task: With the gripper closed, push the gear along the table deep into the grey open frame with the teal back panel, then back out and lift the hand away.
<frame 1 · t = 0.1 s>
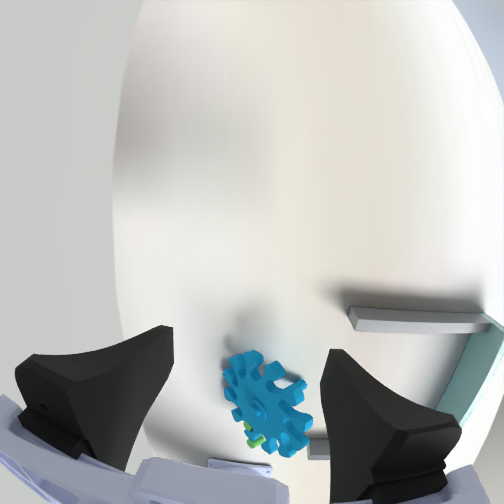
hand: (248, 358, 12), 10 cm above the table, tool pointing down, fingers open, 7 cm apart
gear: (264, 382, 24), on the table
grey open frame: (399, 388, 23), on the table
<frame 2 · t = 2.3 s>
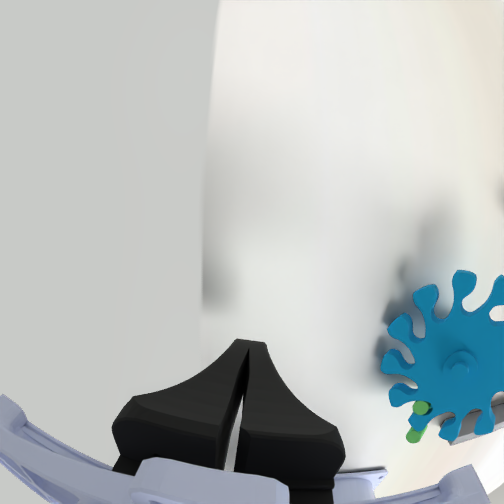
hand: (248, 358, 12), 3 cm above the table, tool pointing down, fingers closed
gear: (428, 339, 14), on the table
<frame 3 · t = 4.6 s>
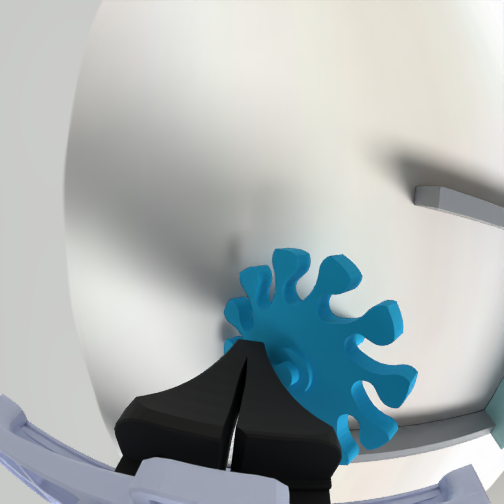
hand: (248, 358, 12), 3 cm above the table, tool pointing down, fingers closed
gear: (293, 333, 15), on the table, touching gripper
grey open frame: (474, 340, 14), on the table
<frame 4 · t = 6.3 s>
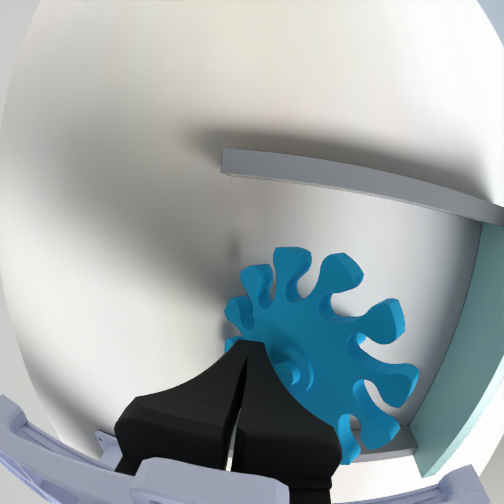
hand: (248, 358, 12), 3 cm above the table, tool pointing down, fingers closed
gear: (294, 332, 15), on the table, touching gripper
grey open frame: (359, 339, 14), on the table
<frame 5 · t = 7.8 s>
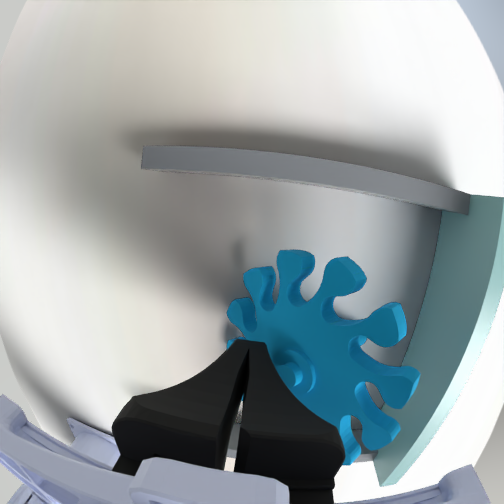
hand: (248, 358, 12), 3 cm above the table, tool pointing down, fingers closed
gear: (295, 334, 15), on the table
grey open frame: (299, 334, 15), on the table
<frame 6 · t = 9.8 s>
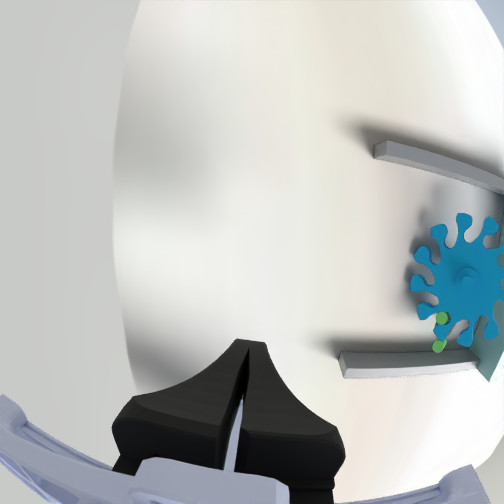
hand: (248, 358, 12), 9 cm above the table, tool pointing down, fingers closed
gear: (441, 272, 20), on the table
grey open frame: (443, 271, 19), on the table
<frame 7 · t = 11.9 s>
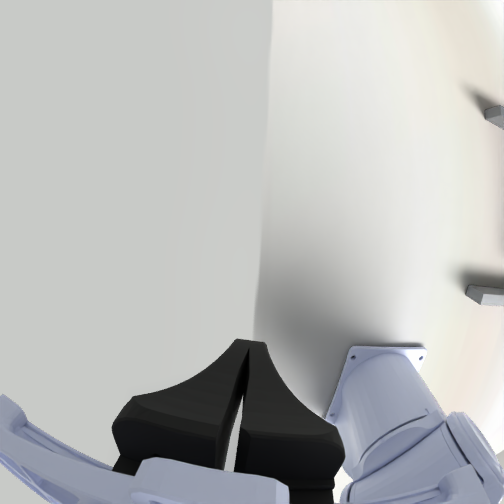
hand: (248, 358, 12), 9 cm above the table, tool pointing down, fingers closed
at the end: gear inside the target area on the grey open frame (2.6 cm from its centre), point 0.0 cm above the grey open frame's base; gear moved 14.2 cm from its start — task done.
